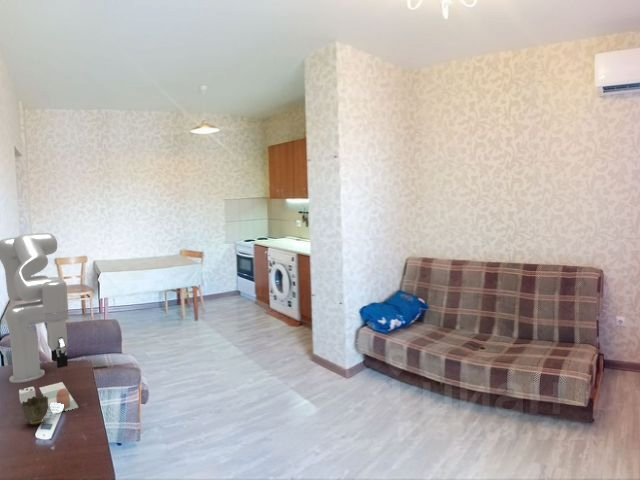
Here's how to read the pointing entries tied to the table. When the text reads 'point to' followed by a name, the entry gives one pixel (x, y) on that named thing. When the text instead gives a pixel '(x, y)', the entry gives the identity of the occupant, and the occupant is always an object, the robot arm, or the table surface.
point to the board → (52, 392)
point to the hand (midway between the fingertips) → (59, 362)
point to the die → (26, 394)
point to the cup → (35, 409)
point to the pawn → (63, 398)
